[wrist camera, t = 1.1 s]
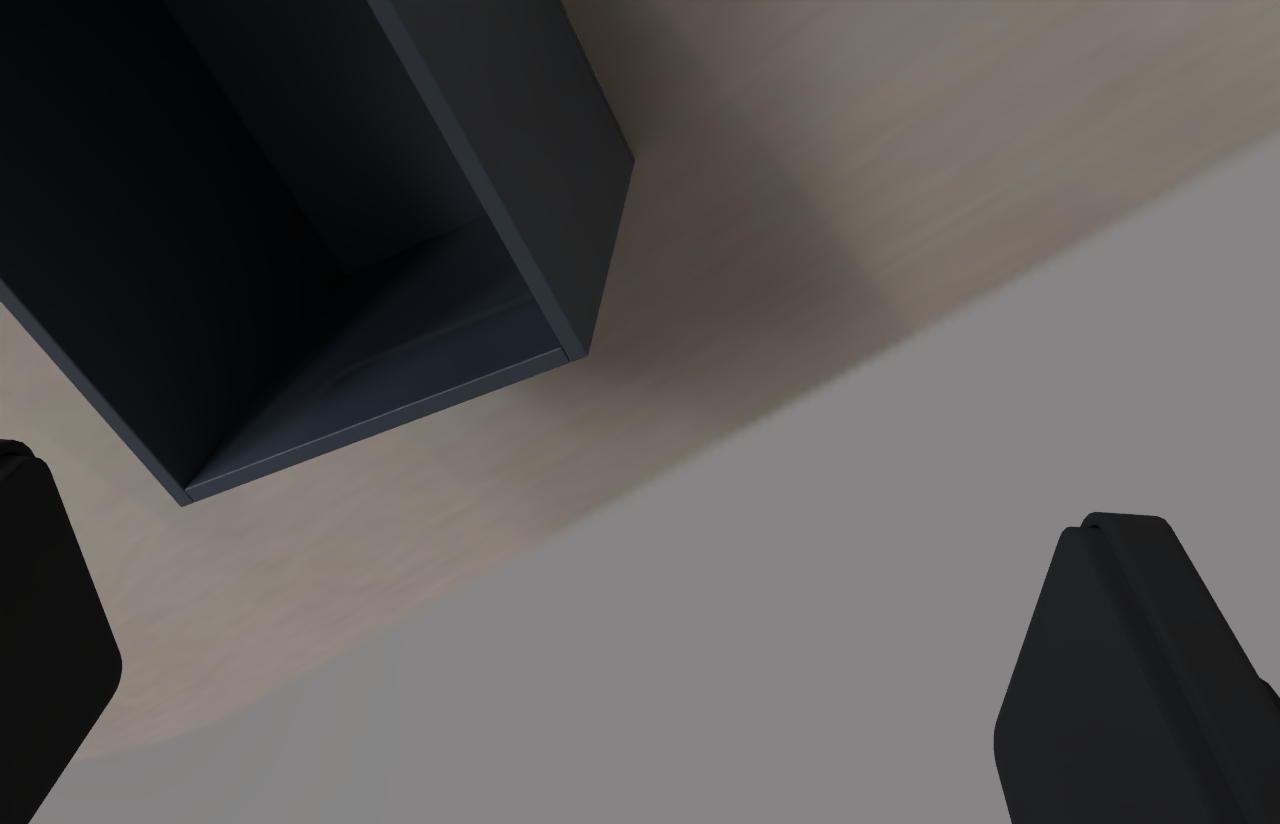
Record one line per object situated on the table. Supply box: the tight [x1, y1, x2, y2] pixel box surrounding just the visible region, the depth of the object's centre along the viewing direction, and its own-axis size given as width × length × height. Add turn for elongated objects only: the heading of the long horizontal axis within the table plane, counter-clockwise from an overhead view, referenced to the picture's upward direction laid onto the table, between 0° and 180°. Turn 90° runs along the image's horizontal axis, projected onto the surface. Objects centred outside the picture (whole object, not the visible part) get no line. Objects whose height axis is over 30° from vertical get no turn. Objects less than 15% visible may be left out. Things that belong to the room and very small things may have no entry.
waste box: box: [0, 0, 635, 507], centre depth 28 cm, size 15×13×14 cm
